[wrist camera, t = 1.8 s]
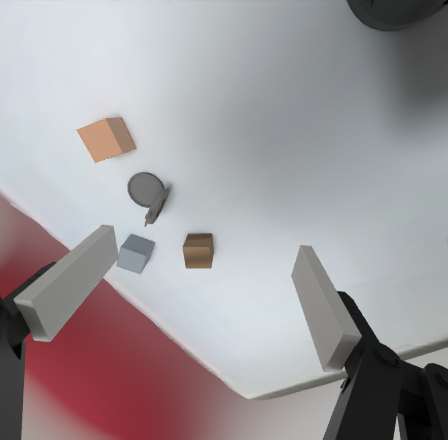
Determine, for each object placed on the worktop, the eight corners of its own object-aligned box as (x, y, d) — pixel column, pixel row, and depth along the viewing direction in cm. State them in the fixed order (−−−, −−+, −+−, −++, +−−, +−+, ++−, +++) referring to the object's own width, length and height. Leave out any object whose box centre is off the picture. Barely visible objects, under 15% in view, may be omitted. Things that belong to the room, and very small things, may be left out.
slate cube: (132, 233, 45) (120, 247, 40) (154, 242, 45) (145, 256, 41) (127, 251, 47) (116, 266, 42) (149, 259, 48) (140, 274, 43)
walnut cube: (188, 233, 44) (182, 247, 39) (212, 233, 44) (209, 246, 39) (190, 253, 46) (186, 268, 42) (213, 253, 46) (211, 268, 41)
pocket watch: (125, 174, 39) (91, 192, 30) (169, 168, 38) (148, 186, 29) (138, 214, 42) (112, 241, 33) (179, 210, 42) (163, 237, 33)
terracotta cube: (96, 127, 36) (76, 129, 31) (122, 117, 35) (105, 118, 30) (112, 157, 38) (95, 162, 33) (136, 148, 37) (123, 153, 32)
